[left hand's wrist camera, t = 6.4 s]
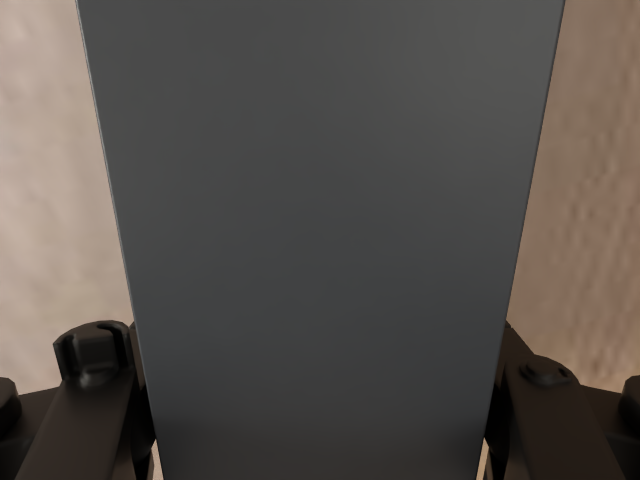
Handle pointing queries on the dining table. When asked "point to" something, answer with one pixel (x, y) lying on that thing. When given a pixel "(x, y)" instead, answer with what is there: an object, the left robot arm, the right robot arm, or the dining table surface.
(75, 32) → the dining table surface
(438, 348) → the plank
